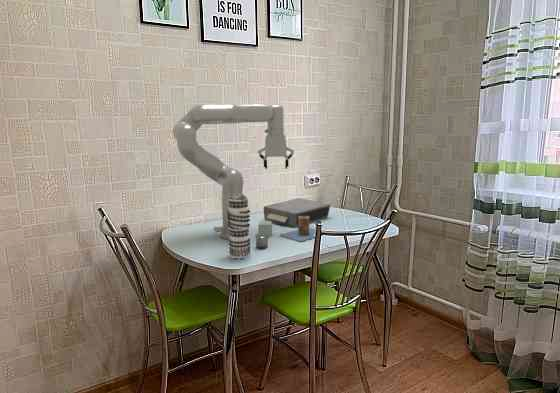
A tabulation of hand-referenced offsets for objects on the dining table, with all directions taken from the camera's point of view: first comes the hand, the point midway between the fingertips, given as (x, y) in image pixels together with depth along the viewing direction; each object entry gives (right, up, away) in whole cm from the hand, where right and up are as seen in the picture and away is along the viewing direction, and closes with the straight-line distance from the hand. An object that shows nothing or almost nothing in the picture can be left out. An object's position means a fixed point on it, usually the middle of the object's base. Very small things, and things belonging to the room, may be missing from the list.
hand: (276, 168), depth 199 cm
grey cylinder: (-6, -35, -20) cm, 41 cm away
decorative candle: (-14, -38, -29) cm, 50 cm away
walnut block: (+13, -31, -3) cm, 34 cm away
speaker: (+10, -26, +25) cm, 38 cm away
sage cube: (-5, -32, -2) cm, 32 cm away
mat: (+13, -31, -3) cm, 34 cm away
